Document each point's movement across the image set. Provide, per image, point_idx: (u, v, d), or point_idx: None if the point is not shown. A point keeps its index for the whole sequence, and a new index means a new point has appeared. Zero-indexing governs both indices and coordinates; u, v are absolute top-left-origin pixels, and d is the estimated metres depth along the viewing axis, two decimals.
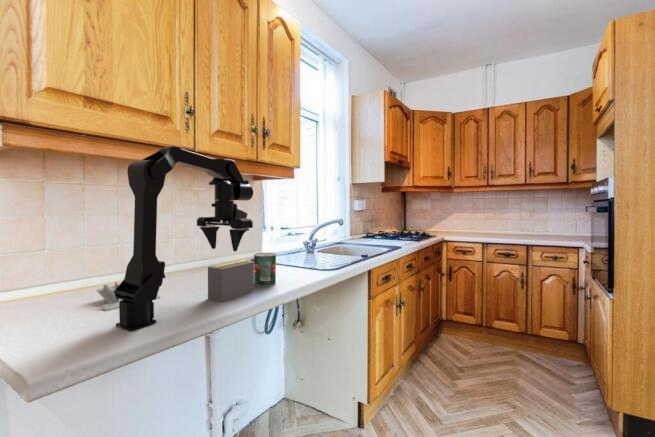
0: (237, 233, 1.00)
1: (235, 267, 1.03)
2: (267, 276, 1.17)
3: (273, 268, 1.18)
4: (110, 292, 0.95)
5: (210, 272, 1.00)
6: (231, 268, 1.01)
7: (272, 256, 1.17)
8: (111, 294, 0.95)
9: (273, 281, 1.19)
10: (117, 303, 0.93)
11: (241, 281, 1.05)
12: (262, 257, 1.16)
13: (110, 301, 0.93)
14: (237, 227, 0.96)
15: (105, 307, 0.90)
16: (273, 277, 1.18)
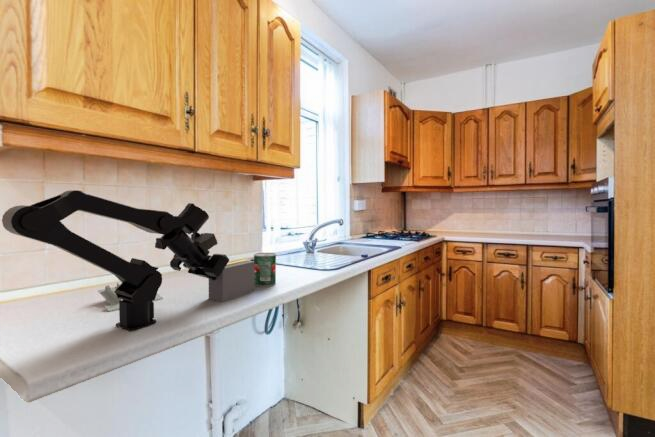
0: None
1: (236, 267, 1.03)
2: (267, 276, 1.17)
3: (273, 268, 1.18)
4: (112, 293, 0.94)
5: None
6: (232, 268, 1.01)
7: (272, 256, 1.17)
8: (113, 295, 0.94)
9: (273, 281, 1.19)
10: None
11: (241, 280, 1.05)
12: (262, 257, 1.16)
13: (112, 302, 0.92)
14: (215, 276, 0.88)
15: (107, 308, 0.89)
16: (273, 277, 1.18)
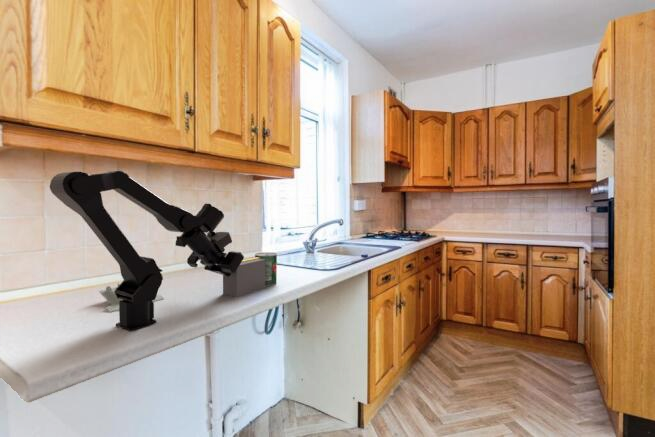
0: None
1: (248, 264, 1.08)
2: (268, 276, 1.17)
3: (274, 268, 1.19)
4: (113, 293, 0.94)
5: None
6: (245, 265, 1.07)
7: (273, 256, 1.18)
8: (114, 296, 0.93)
9: (274, 281, 1.19)
10: None
11: (254, 277, 1.11)
12: (263, 257, 1.16)
13: (113, 303, 0.92)
14: (231, 272, 0.94)
15: (108, 309, 0.89)
16: (274, 276, 1.19)
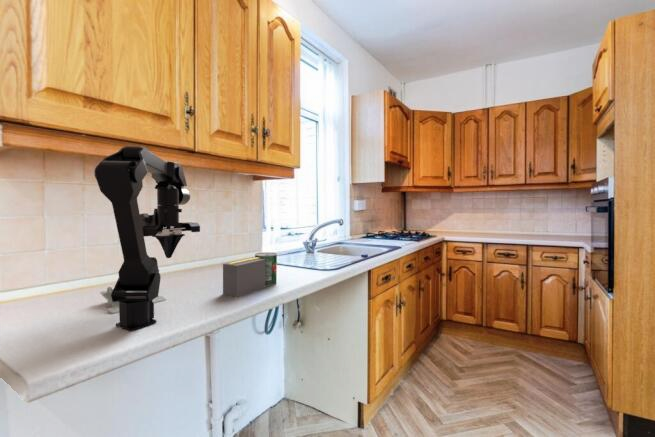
0: None
1: (248, 264, 1.08)
2: (268, 276, 1.17)
3: (274, 268, 1.19)
4: None
5: (225, 268, 1.06)
6: (245, 265, 1.07)
7: (273, 256, 1.18)
8: None
9: (274, 281, 1.19)
10: None
11: (254, 277, 1.11)
12: (263, 257, 1.16)
13: (115, 304, 0.91)
14: (199, 230, 1.03)
15: (110, 310, 0.87)
16: (274, 276, 1.19)
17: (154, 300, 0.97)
